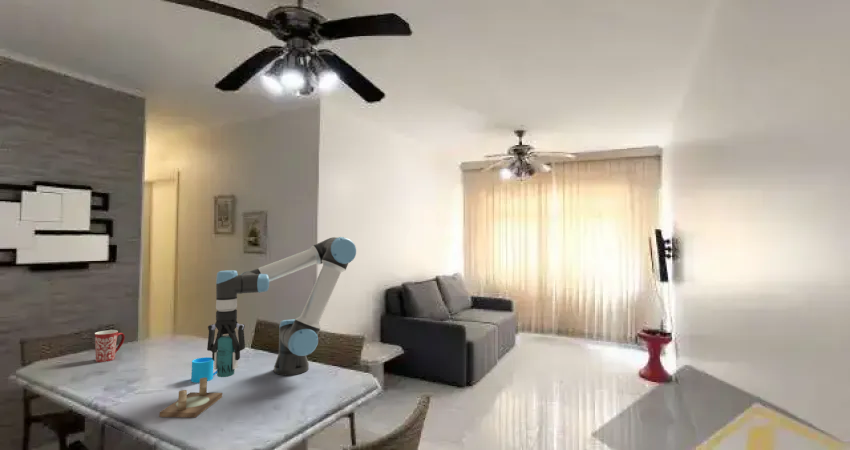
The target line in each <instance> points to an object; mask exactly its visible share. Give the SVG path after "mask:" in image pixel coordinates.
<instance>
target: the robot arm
mask: <svg viewBox="0 0 850 450" xmlns="http://www.w3.org/2000/svg"><path fill="white" fill-rule="evenodd" d="M356 255H357V247H356V245H355V243H354V241H353V240H352V239H350V238H347V237H344V236H340V237H339V236H338V237H335V236H334V237H329V238H327V239H324V240H323V241H320V242H319V243H316V244H312V246H310V248H308V249H306V250H304V251H300V252H297V253H295V254H293V255H290V256H287V257H285V258H282V259H280V260H276V261H274V262H271V263H268V264H266V265H262V266H260V267H258V268H255V269H253V270H248V271H244V272H242V273H241V274H238V271H237V270H233V269H230V270H229V269H228V270H227V269H226V270H220V271H217V272H216V282H215V290H216V291H215V293H216V294H215V299H216V300H215V301H216V303H215V309H216V311H215V320H216V322H215V323H214V324H213V323H212V324H210V325H208V326H207V330H208V339H207V347H206V349H207V351H210V352H211V353H212V355H211V356H212V357H211V358H212V360H214V364H213V370H217V352H218V350H217V349H218V339H219V338H220V337H221V336H224V334H221V331H222V329H223V328H226V329H227V331H228V334H227V335H229V336H230V338H231V339H232V344H233V347H234V350H235V351H234V352H233V369H235V370H236V369H237V368H238V367H239V366H238V365H239V363H238V361H239V360H240V358H241V351H243V350H245V349H246V342H245V331H244V330H245V324H244V323H239V322H238V320H237V318H238V310H237V308H238V295H239V294H240V295H241V294H255V293H256V294H257V293H265V292H268V290H269V288H270V282H272V281H275V280H278V279H280V278H283V277H285V276H288V275H291V274H293V273H295V272H298V271H300V270H303V269H306V268H309V267H311V266H313V265H316V264H317V265H319V266H320V265H322V266H321V267H322V268H321V269H320V272H319V274H318V277H317V278H316V280H315V283H314V285H313V287H312V289H311V292H310V294H309V296H308V299H307V301H306V303H305V305H304V307H303V309H302V312H301V314H300V316H298V317H296V318H295V319H294V318H292V319H283V320H280V322H279V328H278V329H279V331H278V332H279V333H278V354H277V358H276V360H275V363H274V366H273V372H274V374H277V375H281V376H290V375H291V376H293V375H300V374H303V373H305V372H308V371H309V367H310V366H309V361H308V357H307V356H309V355H311V354H312V353H313V352H314V351H316V349H317V346H318V344H319V337H318V336H319V333H320V331H321V324H320V322H321V320H322V317H323V315H324V313H325V311H326V307H327V306H328V303H329V300H330V298H331V296H332V294H333V292H334V289H335V287H336V284H337V282H338V280H339V278H340V275H341V273H342V272H345V271H346V270H347V267H348V266H349V263H352V261H354V259H355V258H356ZM216 329H217V332H216ZM236 329H237V332H236ZM215 333H217V334H215ZM236 333H237V334H236ZM215 335H216V337H215ZM237 335H238V337H237Z"/></svg>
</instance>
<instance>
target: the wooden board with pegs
mask: <svg viewBox="0 0 850 450" xmlns="http://www.w3.org/2000/svg"><path fill="white" fill-rule="evenodd" d="M207 388H208V381H207V378H200V383H199V388H198V389H199V391H198V392H192V391H191V392H188V390H187V389H182V390H179V391H178V396H177V397H178V400H176V401H175V402H173V403H171V404H170V405H169V406H167V407H165V408H163V409H162V410H161V411H159V416H158V417H159V418H197V417H199V415H201V414H202V413H203V412H205V411H206V410H207V409H208V408H210V407H211V406H213V405H214V404H216V402H218V401H220V399H222V398H223V392H207V391H208V389H207Z"/></svg>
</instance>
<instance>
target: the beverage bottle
mask: <svg viewBox="0 0 850 450" xmlns="http://www.w3.org/2000/svg"><path fill="white" fill-rule="evenodd" d="M221 334H223V336H221V337H220V338H219V339H218V349H217V351H218V352H217V369H216V371H217V374H216V376H217V378H227V377H231V376H233V375H235V371H236V369H233V352H234V351H235V350H234V347H233V344H232V339H231V338H230V336H229V334H228V331H227V329H226V328H223V329H222V331H221Z"/></svg>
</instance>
